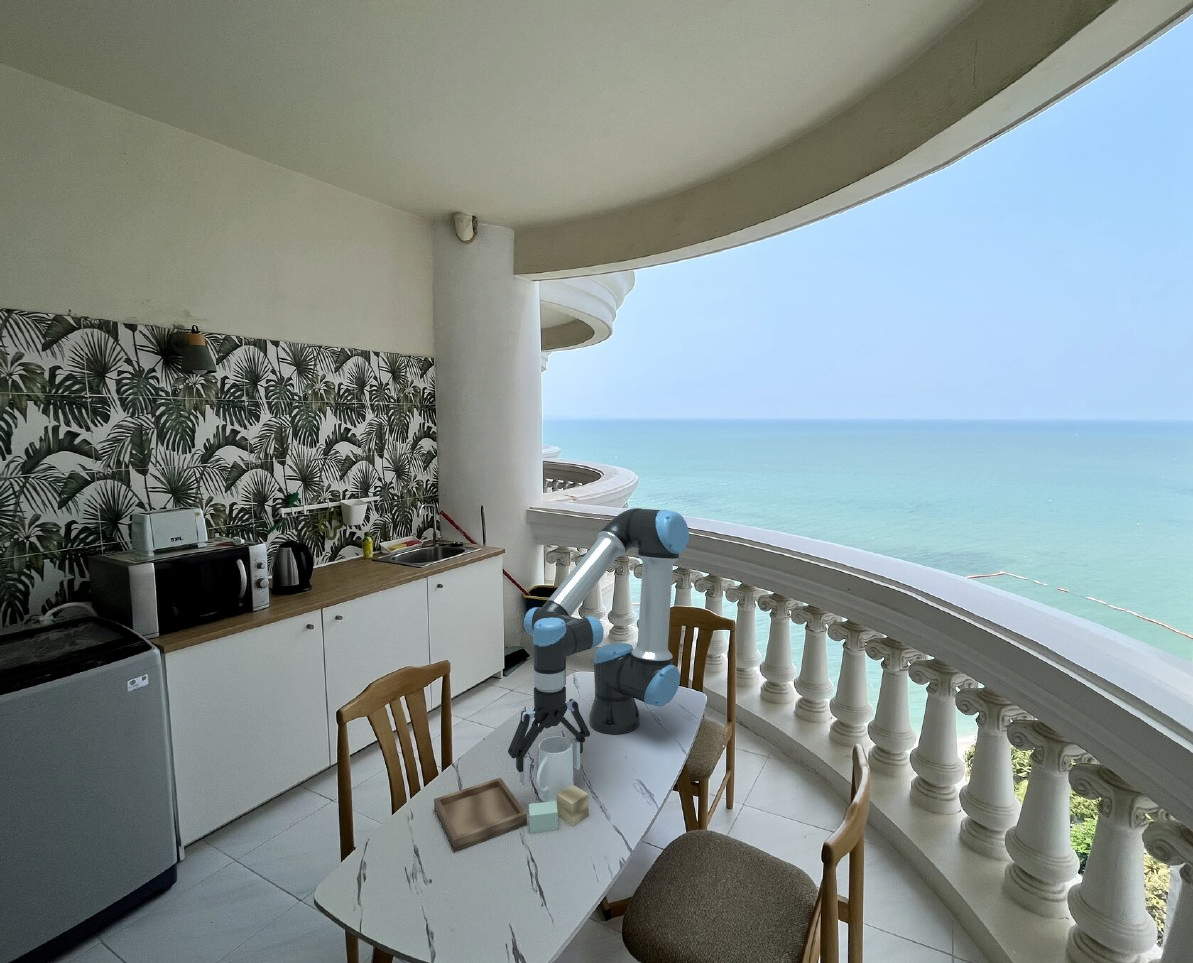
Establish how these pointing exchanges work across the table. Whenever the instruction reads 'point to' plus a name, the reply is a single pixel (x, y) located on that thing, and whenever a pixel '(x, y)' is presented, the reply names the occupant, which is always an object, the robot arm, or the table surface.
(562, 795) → the oak block
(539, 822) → the sage block
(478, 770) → the table surface
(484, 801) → the tray
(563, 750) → the mug
